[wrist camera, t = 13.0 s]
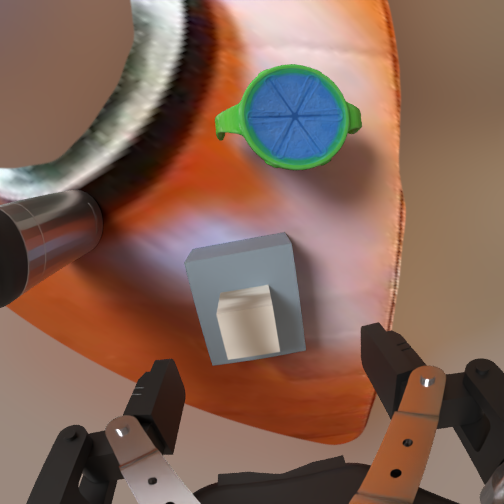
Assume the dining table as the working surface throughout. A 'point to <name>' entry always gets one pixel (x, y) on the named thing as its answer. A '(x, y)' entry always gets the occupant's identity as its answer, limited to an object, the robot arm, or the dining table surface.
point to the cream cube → (247, 322)
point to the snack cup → (291, 117)
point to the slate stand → (247, 276)
